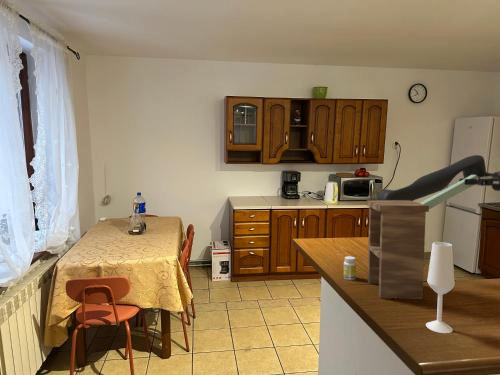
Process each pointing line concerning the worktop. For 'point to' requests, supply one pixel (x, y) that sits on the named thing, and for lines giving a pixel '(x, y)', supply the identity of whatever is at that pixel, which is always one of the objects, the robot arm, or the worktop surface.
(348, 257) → the supplement bottle
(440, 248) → the champagne flute
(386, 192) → the robot arm
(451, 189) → the capped bar
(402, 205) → the walnut shelf
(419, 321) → the worktop surface
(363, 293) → the worktop surface
